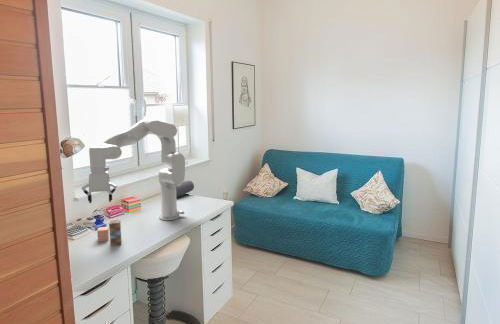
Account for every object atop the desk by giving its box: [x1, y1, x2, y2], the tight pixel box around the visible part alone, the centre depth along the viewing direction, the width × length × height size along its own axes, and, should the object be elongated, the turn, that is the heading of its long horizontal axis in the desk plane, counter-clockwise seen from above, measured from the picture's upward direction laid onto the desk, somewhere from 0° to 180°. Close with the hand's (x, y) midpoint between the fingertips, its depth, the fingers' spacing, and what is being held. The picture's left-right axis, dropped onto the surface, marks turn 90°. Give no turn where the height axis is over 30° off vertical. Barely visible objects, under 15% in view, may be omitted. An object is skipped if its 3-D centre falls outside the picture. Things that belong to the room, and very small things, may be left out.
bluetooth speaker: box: [175, 180, 195, 198], centre depth 279 cm, size 23×9×10 cm, turn 149°
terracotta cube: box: [96, 226, 110, 242], centre depth 194 cm, size 5×5×6 cm
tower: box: [108, 219, 123, 247], centre depth 187 cm, size 5×5×12 cm
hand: (100, 201), depth 191 cm, fingers open, 9 cm apart
